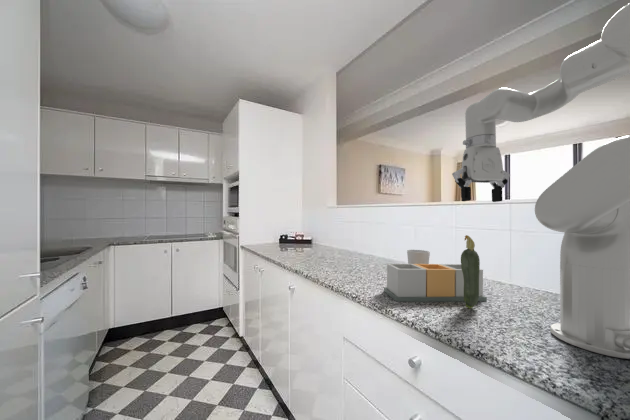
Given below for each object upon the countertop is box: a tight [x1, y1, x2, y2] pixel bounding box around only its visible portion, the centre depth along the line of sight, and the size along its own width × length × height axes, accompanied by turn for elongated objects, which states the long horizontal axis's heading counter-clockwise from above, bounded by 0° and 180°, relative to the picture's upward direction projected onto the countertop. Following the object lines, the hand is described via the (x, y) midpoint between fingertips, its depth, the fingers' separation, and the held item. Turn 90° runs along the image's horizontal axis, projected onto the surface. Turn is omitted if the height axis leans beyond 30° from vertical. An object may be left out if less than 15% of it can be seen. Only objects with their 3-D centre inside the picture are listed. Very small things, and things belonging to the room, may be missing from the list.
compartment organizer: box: [383, 263, 488, 303], centre depth 77 cm, size 10×28×9 cm, turn 95°
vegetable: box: [460, 234, 481, 310], centre depth 67 cm, size 4×4×20 cm
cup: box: [406, 249, 431, 264], centre depth 92 cm, size 8×8×12 cm
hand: (481, 201), depth 73 cm, fingers open, 9 cm apart
